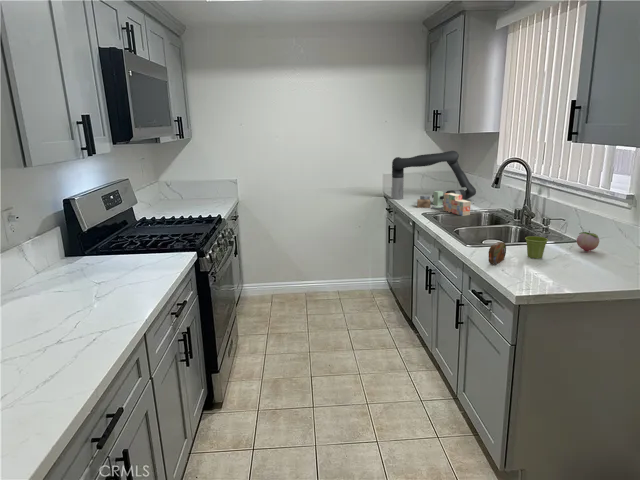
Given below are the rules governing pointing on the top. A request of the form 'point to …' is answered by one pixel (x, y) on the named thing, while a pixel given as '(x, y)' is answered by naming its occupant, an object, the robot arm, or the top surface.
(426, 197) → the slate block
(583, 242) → the decorative fruit
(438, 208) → the swatch card
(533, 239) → the plant pot
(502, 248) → the tin
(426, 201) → the walnut plinth
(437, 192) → the sage block
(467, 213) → the stack of blocks
